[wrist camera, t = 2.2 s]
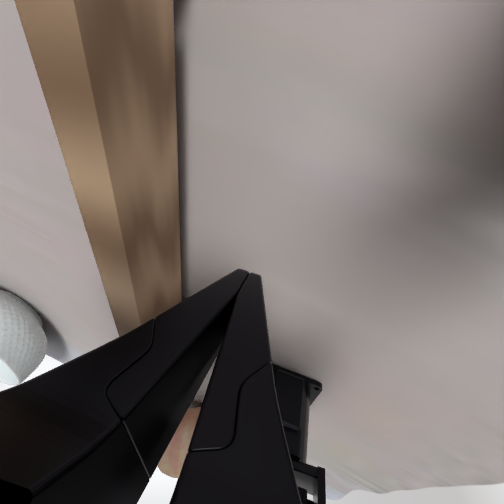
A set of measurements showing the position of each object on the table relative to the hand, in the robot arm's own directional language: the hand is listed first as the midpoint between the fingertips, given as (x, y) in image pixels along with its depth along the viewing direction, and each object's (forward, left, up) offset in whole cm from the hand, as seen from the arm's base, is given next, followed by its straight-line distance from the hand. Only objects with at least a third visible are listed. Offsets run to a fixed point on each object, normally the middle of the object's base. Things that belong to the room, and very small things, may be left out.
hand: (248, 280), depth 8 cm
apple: (-34, +4, -7) cm, 35 cm away
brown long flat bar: (-3, +7, -6) cm, 10 cm away
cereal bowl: (-27, +35, -7) cm, 45 cm away
